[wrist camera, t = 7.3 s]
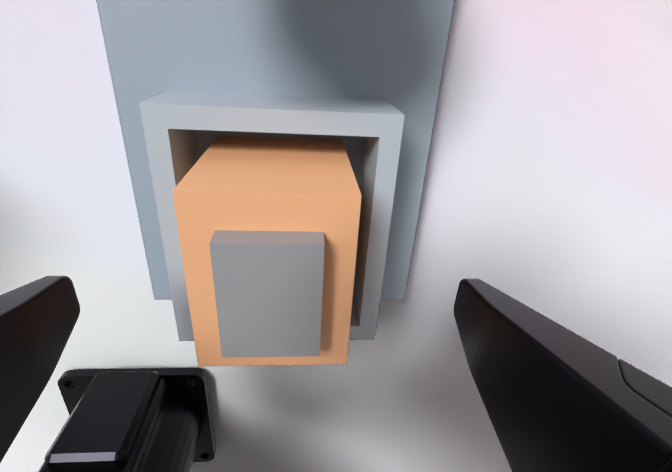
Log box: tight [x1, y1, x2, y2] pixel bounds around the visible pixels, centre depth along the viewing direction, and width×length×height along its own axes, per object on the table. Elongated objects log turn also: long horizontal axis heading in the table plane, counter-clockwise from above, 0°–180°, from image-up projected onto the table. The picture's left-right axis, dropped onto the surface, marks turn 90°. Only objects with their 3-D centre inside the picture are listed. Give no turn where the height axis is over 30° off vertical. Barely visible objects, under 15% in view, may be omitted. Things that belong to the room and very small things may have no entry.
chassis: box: [96, 0, 454, 341], centre depth 11 cm, size 16×10×4 cm, turn 177°
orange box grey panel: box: [172, 136, 362, 366], centre depth 11 cm, size 5×4×6 cm
